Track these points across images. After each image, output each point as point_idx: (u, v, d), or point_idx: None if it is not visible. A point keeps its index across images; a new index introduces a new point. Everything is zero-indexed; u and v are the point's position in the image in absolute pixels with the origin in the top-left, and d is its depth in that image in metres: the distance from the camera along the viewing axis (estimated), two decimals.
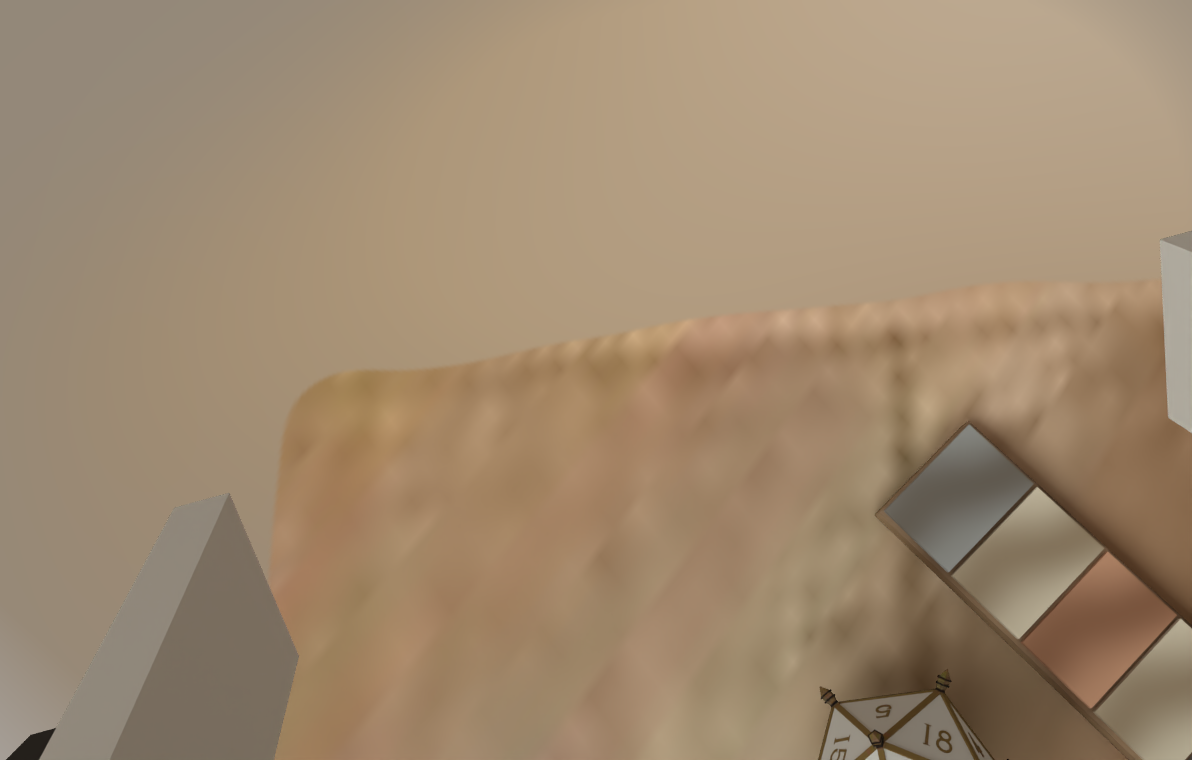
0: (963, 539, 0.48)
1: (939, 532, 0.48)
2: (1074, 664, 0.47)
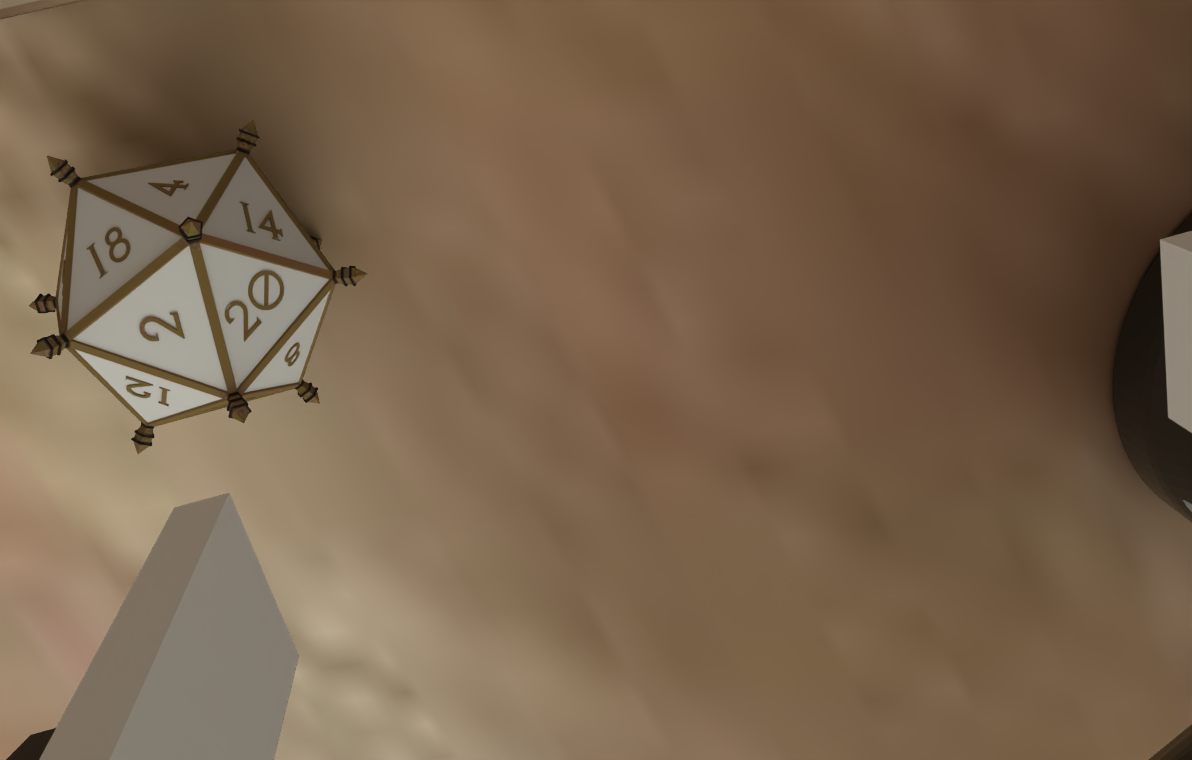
0: None
1: None
2: None
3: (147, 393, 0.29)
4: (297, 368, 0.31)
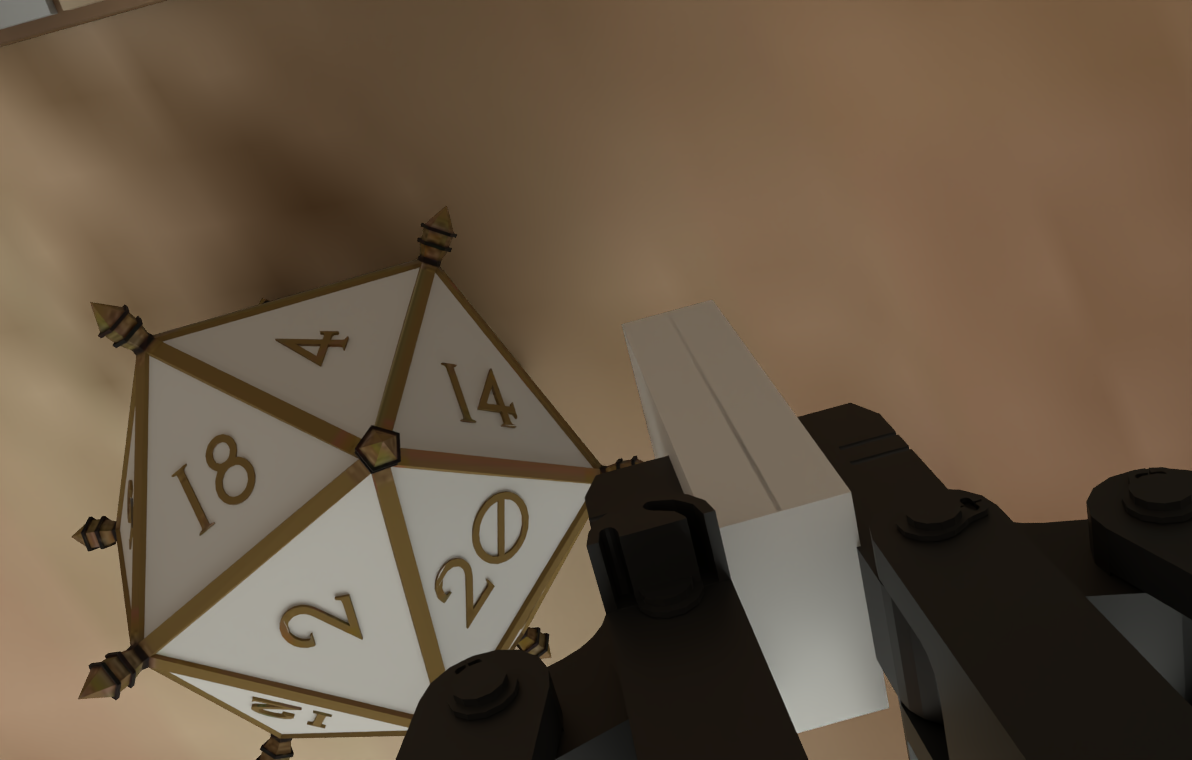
0: None
1: None
2: None
3: (289, 715, 0.16)
4: None
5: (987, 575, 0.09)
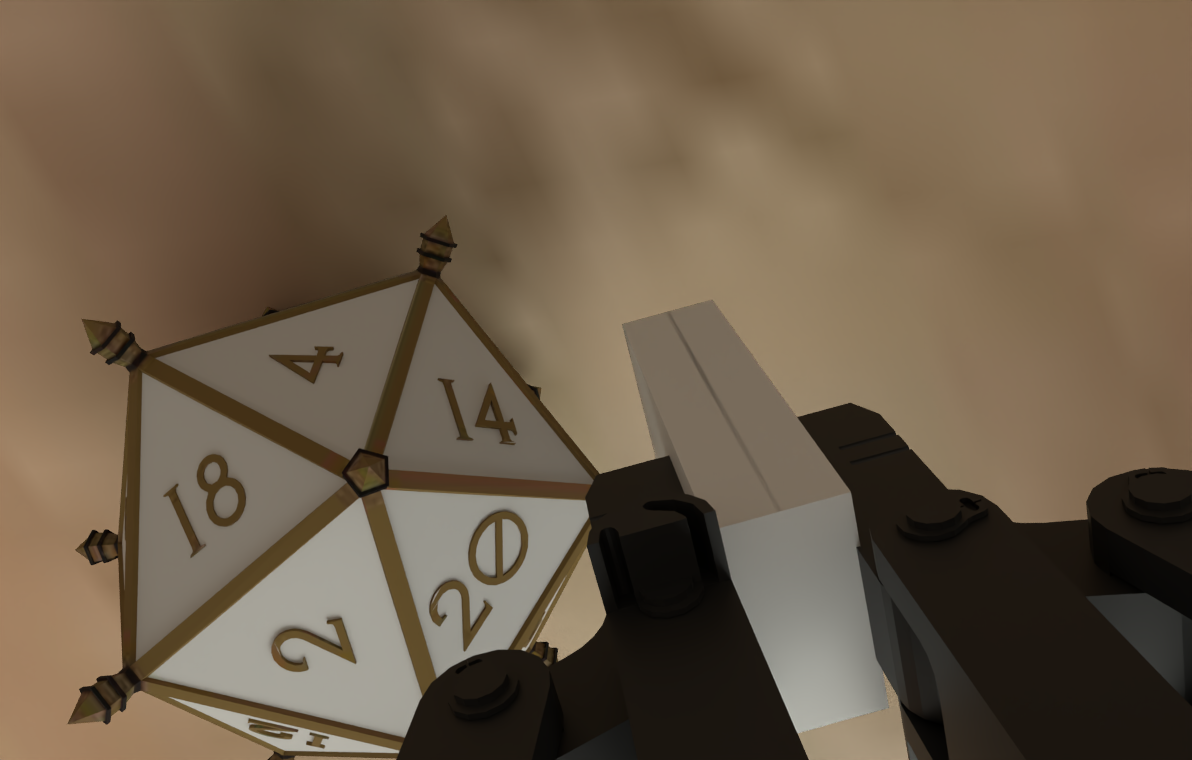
0: None
1: None
2: None
3: (287, 735, 0.16)
4: None
5: (986, 573, 0.09)
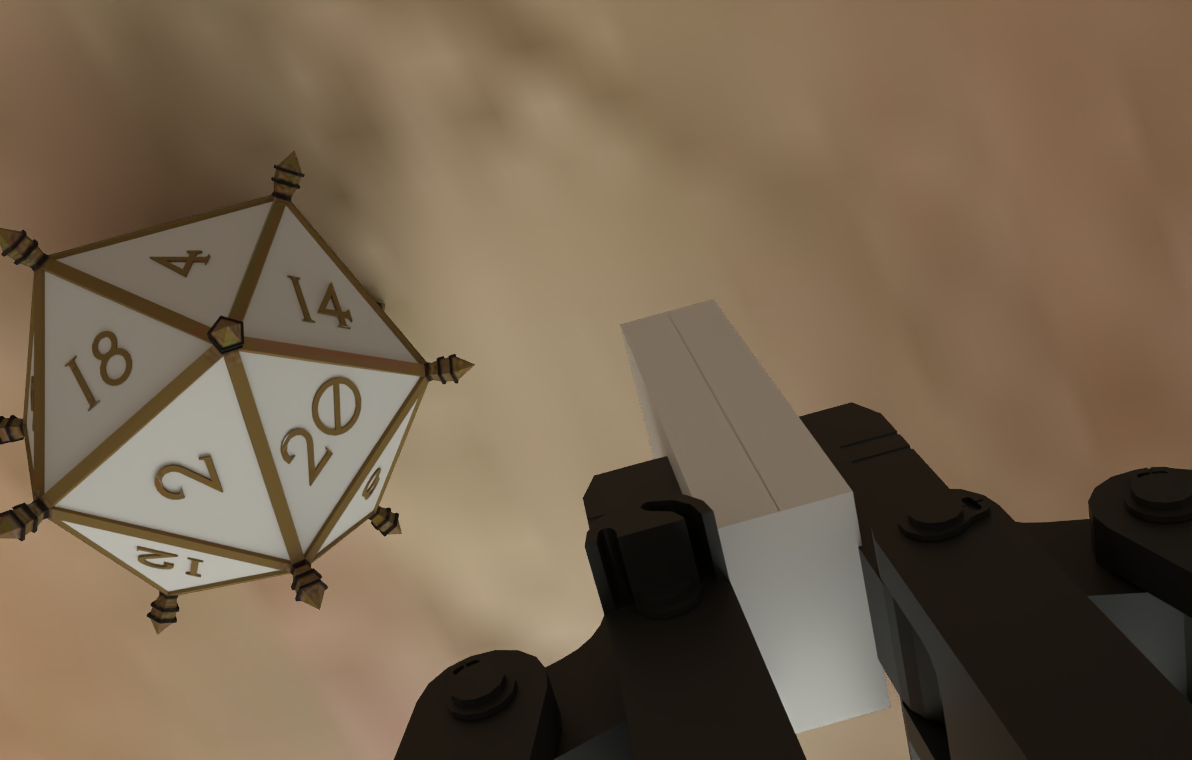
0: None
1: None
2: None
3: (169, 564, 0.20)
4: (373, 495, 0.22)
5: (988, 573, 0.09)
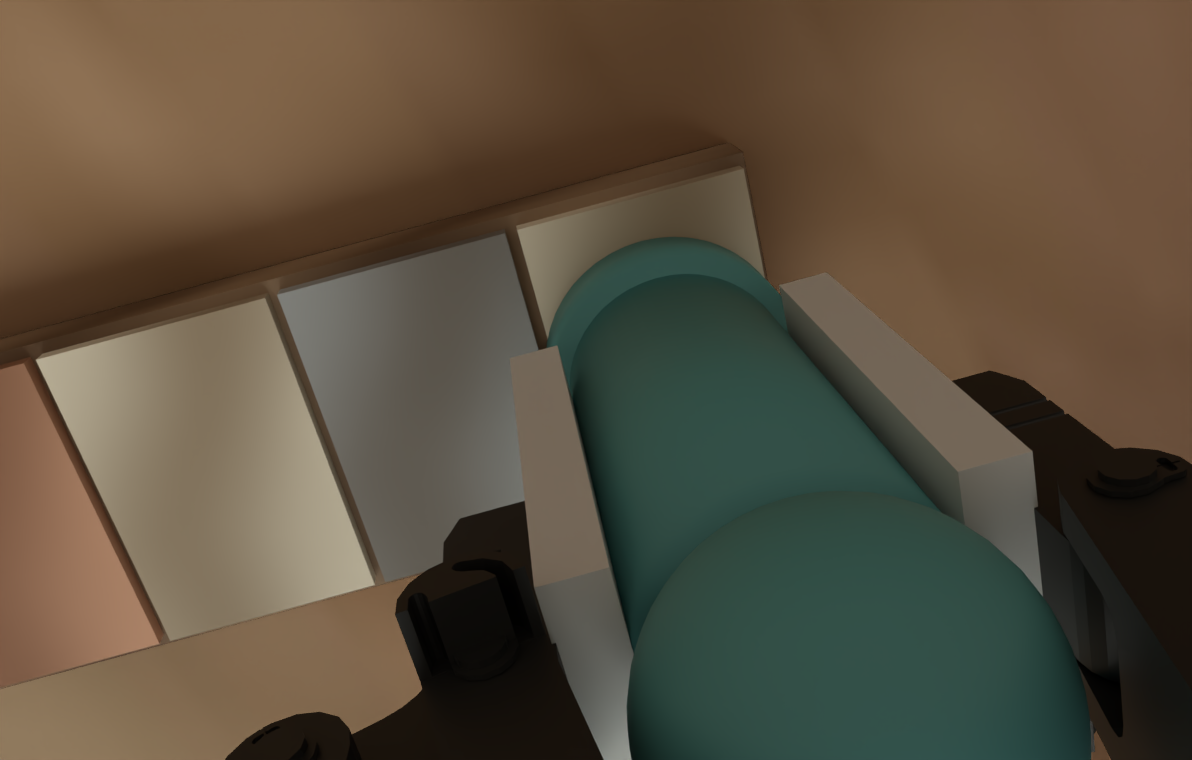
0: None
1: None
2: (48, 629, 0.19)
3: None
4: None
5: (1179, 533, 0.09)
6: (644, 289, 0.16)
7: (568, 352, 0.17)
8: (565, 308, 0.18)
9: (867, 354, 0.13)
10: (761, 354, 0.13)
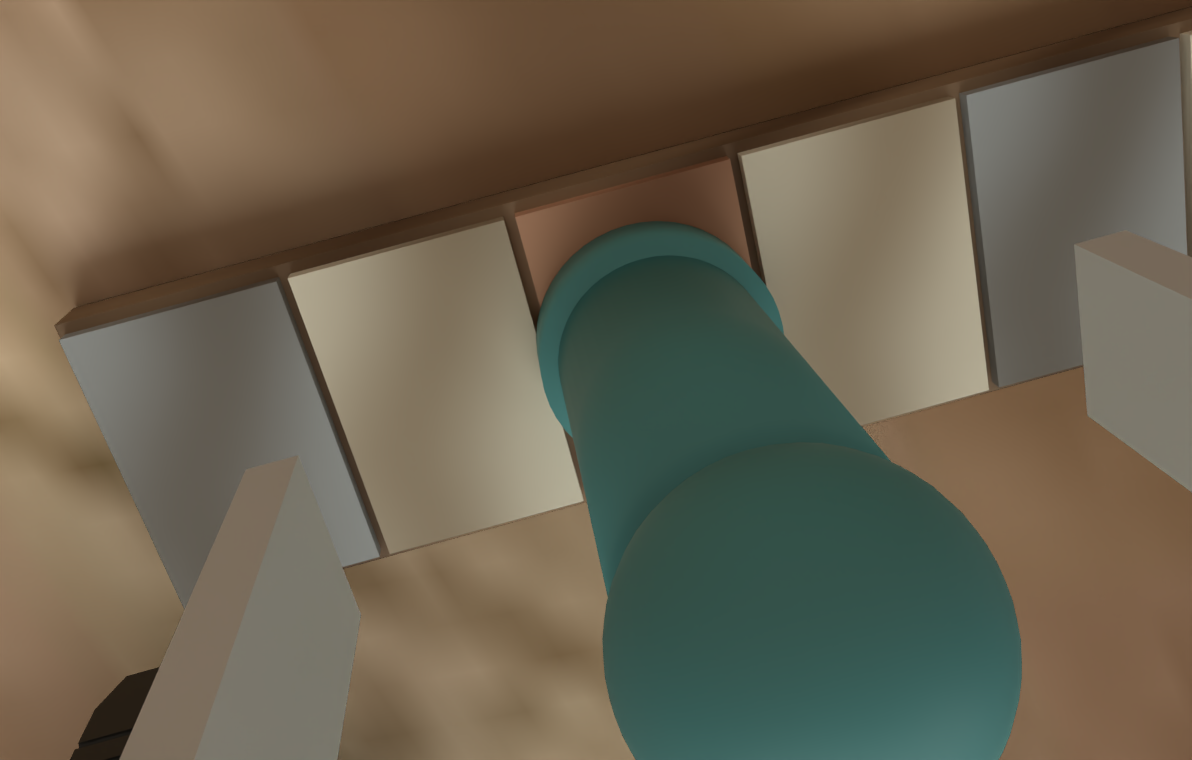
0: (326, 495, 0.20)
1: None
2: None
3: None
4: None
5: None
6: (629, 270, 0.17)
7: (557, 330, 0.18)
8: (554, 289, 0.18)
9: None
10: (733, 326, 0.14)
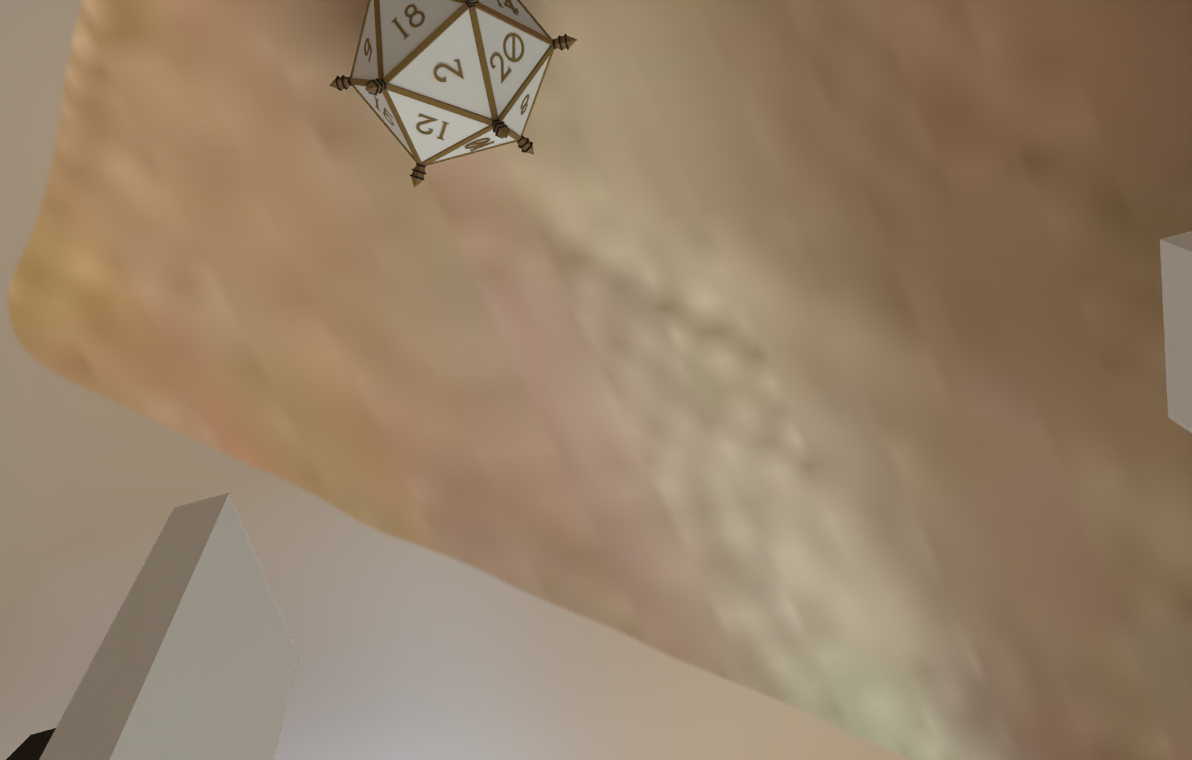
0: None
1: None
2: None
3: (431, 129, 0.41)
4: (522, 121, 0.43)
5: None
6: None
7: None
8: None
9: None
10: None
